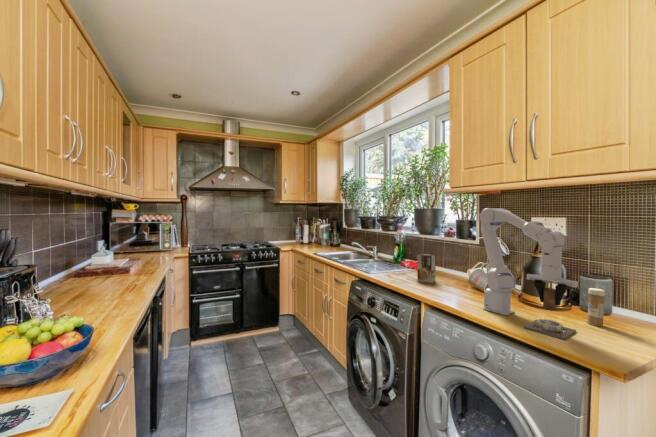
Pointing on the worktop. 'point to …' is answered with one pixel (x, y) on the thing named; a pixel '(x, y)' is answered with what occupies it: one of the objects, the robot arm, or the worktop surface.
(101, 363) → the worktop surface
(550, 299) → the walnut peg
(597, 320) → the sprinkles bottle
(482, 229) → the robot arm
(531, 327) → the cup bracket
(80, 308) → the worktop surface
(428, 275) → the coffee box
